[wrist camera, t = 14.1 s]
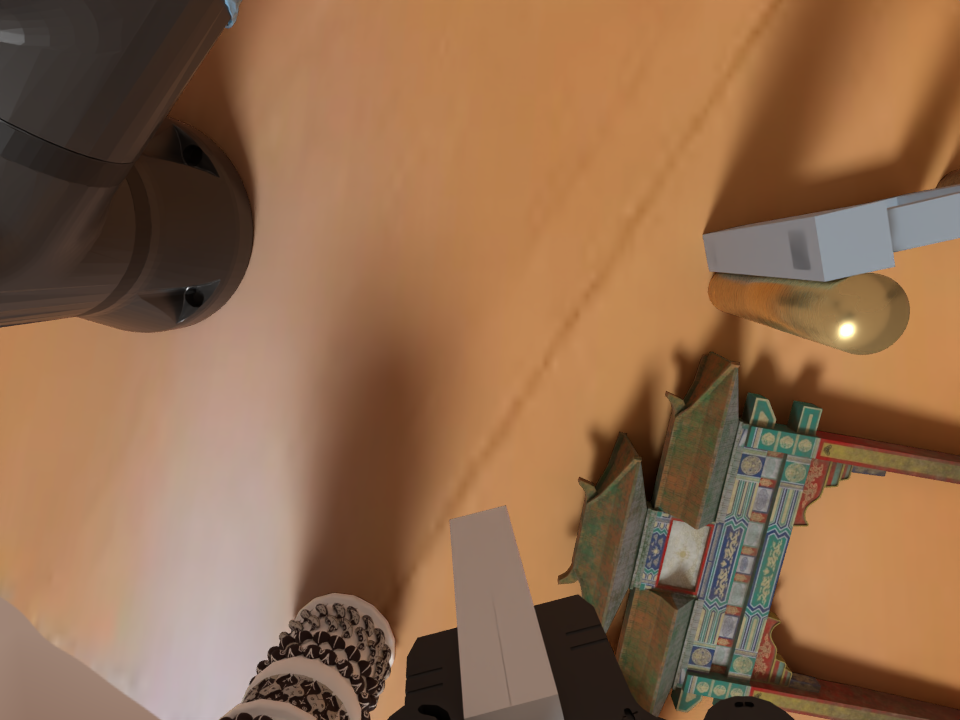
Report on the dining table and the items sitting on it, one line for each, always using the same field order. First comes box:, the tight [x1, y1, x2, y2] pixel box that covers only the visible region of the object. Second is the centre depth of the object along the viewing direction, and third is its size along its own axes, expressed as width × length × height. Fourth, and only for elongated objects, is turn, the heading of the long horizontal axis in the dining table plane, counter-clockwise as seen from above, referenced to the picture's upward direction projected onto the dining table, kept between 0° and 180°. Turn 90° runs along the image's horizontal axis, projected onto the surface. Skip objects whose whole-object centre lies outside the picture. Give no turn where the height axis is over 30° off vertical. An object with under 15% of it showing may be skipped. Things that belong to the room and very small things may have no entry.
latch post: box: [708, 272, 910, 355], centre depth 31 cm, size 3×3×18 cm
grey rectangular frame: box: [703, 184, 960, 282], centre depth 30 cm, size 12×2×18 cm, turn 103°
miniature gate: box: [558, 352, 960, 720], centre depth 41 cm, size 27×6×30 cm
